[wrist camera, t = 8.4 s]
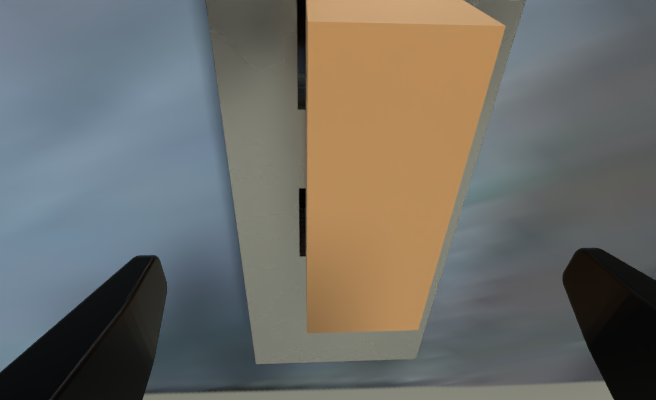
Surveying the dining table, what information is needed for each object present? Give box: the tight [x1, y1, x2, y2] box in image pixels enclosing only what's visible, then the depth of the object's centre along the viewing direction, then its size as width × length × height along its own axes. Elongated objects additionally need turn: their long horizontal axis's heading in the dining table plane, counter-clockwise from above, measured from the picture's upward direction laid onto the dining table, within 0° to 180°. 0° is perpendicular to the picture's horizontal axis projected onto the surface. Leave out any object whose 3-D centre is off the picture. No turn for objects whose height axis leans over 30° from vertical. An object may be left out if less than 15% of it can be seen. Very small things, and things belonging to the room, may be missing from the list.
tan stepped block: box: [306, 0, 506, 333], centre depth 12 cm, size 4×9×6 cm, turn 178°
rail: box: [206, 0, 526, 364], centre depth 14 cm, size 8×24×3 cm, turn 178°
